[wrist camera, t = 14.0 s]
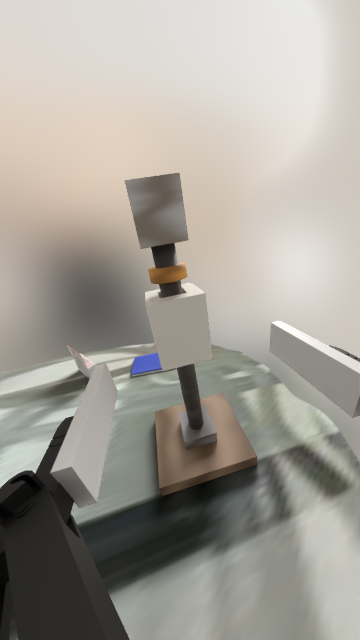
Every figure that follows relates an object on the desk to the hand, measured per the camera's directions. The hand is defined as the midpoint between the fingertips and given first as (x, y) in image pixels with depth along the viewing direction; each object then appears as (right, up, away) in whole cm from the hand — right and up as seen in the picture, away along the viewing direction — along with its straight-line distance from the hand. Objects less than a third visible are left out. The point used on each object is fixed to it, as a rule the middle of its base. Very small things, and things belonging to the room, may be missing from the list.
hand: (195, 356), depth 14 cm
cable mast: (+2, -18, +16) cm, 24 cm away
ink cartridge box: (-28, -14, +38) cm, 49 cm away
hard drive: (-8, -11, +38) cm, 41 cm away
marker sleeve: (-1, -1, +9) cm, 9 cm away
